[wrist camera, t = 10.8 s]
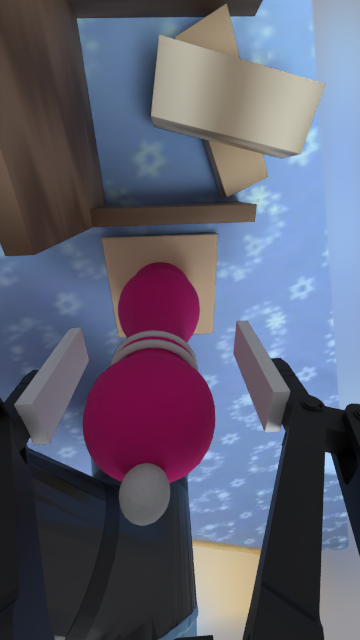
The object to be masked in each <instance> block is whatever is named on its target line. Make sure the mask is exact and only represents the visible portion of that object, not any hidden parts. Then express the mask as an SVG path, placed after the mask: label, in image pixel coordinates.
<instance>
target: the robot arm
mask: <svg viewBox="0 0 360 640" xmlns="http://www.w3.org/2000/svg"><path fill="white" fill-rule="evenodd" d="M233 354H234V356H235V359H236V361H237V364H238V366H239V369H240V371H241V374H242V376H243V379H244V381H245V384H246V386H247V389H248V391H249V394H250V396H251V399H252V401H253V404H254V406H255V409H256V411H257V414H258V417H259V419H260V422H261V424H262V427H263V429H264V432H279V431H280V429H281V425H283V427H284V429H285V431H286V432H285V435H284V439H283V443H282V450H281V455H280V460H279V465H278V470H277V475H276V480H275V485H274V490H273V495H272V500H271V505H270V510H269V515H268V520H267V525H266V530H265V535H264V540H263V545H262V550H261V555H260V560H259V565H258V570H257V575H256V580H255V585H254V590H253V595H252V600H251V604H250V609H249V613H248V617H247V622H246V626H245V631H244V635H243V640H324V633H323V627H322V624H321V621H320V616H319V602H320V576H321V549H322V521H323V493H324V465H325V452H328V453H331V456H332V459H333V463H334V466H335V470H336V473H337V477H338V480H339V484H340V488H341V491H342V495H343V498H344V502H345V505H346V509H347V513H348V516H349V520H350V523H351V527H352V530H353V534H354V537H355V541H356V545H357V548H358V552H359V555H360V404H349V405H347V407H346V409H345V410H341V409H336V408H331V407H327V406H325V405H324V404H323V402H322V401H320V400H319V399H318V398H316V397H314V396H311V395H309V394H308V392H307V391H306V389H305V388H304V387H303V385H302V384H301V382H300V381H299V379H298V378H297V376H296V375H295V373H294V372H293V371H292V369H291V368H290V366H289V365H288V363H286V362H285V361H284V360H282V359H281V358H270V357H269V355H268V353H267V352H266V350H265V349H264V347H263V345H262V344H261V342H260V340H259V339H258V337H257V335H256V334H255V332H254V330H253V329H252V327H251V326H250V324H249V322H248V321H237V323H236V333H235V343H234V353H233ZM88 362H89V357H88V353H87V349H86V345H85V342H84V338H83V334H82V330H81V328H69V330H68V331H67V333H66V334H65V335H64V337H63V338H62V339H61V341H60V342H59V344H58V345H57V346H56V348H55V349H54V351H53V352H52V353H51V355H50V356H49V357H48V359H47V360H46V362H45V363H44V364H43V366H42V367H41V368H40V370H32V371H31V372H30V373H28V374H27V375H26V376H24V378H23V379H22V380H21V382H20V383H19V385H17V387H16V388H15V390H14V391H13V392H12V393H11V394H10V396H9V397H8V398H7V400H6V401H5V402H4V403H3V401H2V399H1V398H0V640H213V635H208V636H197V625H196V619H197V616H198V607H197V601H196V587H195V575H194V562H193V549H192V536H191V523H190V510H189V498H188V482H187V478H188V474H187V475H185V476H184V477H182V478H180V479H178V480H176V481H173V482H171V483H169V485H170V500H169V503H168V506H167V509H166V510H165V512H164V513H163V515H162V516H161V517H160V518H159V519H158V520H157V521H155V522H154V523H151V524H148V525H144V526H141V525H136V524H134V523H131V522H130V521H129V520H128V519H127V518H126V517H125V516H124V514H123V512H122V510H121V508H120V502H119V490H120V486H121V483H122V482H121V481H118V480H116V479H114V478H112V477H111V476H109V475H108V474H106V473H105V472H104V471H103V470H101V469H100V468H99V467H98V466H97V464H96V463H95V461H94V460H93V459H92V457H91V463H92V476H89V475H87V474H85V473H83V472H80V471H78V470H76V469H74V468H72V467H69V466H67V465H65V464H63V463H61V462H58V461H56V460H54V459H52V458H50V457H47V456H45V455H43V454H41V453H39V452H36V451H34V450H32V449H30V448H28V446H27V442H28V440H29V438H31V440H32V442H33V444H34V445H37V444H50V442H51V440H52V438H53V436H54V434H55V432H56V430H57V427H58V425H59V423H60V421H61V419H62V417H63V415H64V413H65V411H66V408H67V406H68V404H69V402H70V400H71V398H72V396H73V394H74V391H75V389H76V387H77V385H78V383H79V381H80V379H81V377H82V374H83V372H84V370H85V368H86V366H87V364H88Z"/></svg>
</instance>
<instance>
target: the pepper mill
mask: <svg viewBox="0 0 360 640" xmlns="http://www.w3.org/2000/svg"><path fill="white" fill-rule="evenodd" d="M199 315H200V303H199V298H198V294H197V292H196V290H195V288H194V287H193V285H192V284H191V283H190V281H189V280H188V278H187V276H186V275H185V274H184V273H183V271H182V270H180V269H179V268H178V267H176V266H174V265H172V264H169V263H165V262H156V263H151V264H148V265H146V266H144V267H143V268H141V269H140V270H139V271H138V272H137V273H136V275H135V276H133V277H132V278H131V279H130V280H129V281H128V282H127V283H126V285H125V286H124V288H123V290H122V292H121V294H120V298H119V302H118V317H119V321H120V325H121V328H122V330H123V332H124V334H125V335H126V337H127V339H126V340H124V341H123V342H122V343H121V344H120V345H119V346H118V348H117V349H116V351H115V354H114V356H113V360H112V362H111V365H110V367H109V368H108V369H107V370H106V371H105V372H103V373H102V374H101V375H100V377H99V378H98V379H97V380H96V382H95V383H94V385H93V387H92V389H91V391H90V393H89V395H88V398H87V402H86V406H85V410H84V415H83V434H84V440H85V443H86V446H87V449H88V451H89V453H90V456H91V457H92V459H93V460H94V461H95V463H96V464H97V466H98V467H99V468H100V469H101V470H103V471H104V472H105V473H106V474H108V475H109V476H111V477H112V478H114V479H116V480H118V481H121V482H122V483H121V486H120V490H119V502H120V508H121V510H122V512H123V514H124V516H125V517H126V518H127V519H128V520H129V521H130V522H131V523H134V524H136V525H141V526H144V525H148V524H151V523H154V522H155V521H157V520H158V519H159V518H160V517H161V516H162V515H163V513H164V512H165V510H166V509H167V506H168V503H169V500H170V485H169V483H171V482H173V481H176V480H178V479H180V478H182V477H184V476H185V475H187V474H188V473H190V472H191V471H192V470H193V469H194V468H195V467H196V466H197V465H198V464H199V463H200V462H201V460H202V459H203V457H204V456H205V454H206V452H207V451H208V449H209V447H210V444H211V441H212V438H213V434H214V429H215V406H214V401H213V397H212V394H211V391H210V389H209V387H208V384H207V383H206V381H205V380H204V378H203V377H202V376H201V375H200V373H199V372H198V368H197V361H196V357H195V354H194V352H193V350H192V349H191V347H190V346H189V345H188V344H187V342H188V340H189V339H190V338H191V336H192V335H193V333H194V331H195V329H196V326H197V324H198V321H199Z"/></svg>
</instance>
